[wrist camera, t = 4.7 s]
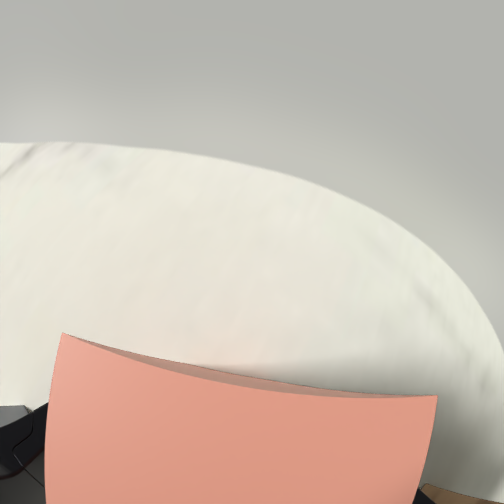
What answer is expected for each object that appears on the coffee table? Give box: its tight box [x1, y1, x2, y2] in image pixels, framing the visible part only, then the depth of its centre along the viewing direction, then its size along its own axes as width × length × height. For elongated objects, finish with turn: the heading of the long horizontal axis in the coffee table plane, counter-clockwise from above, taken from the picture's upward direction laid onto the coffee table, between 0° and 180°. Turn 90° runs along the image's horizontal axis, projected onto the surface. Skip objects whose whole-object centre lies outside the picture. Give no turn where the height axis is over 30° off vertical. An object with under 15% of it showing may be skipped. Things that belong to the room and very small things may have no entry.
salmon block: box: [45, 333, 438, 504], centre depth 8 cm, size 5×5×13 cm
